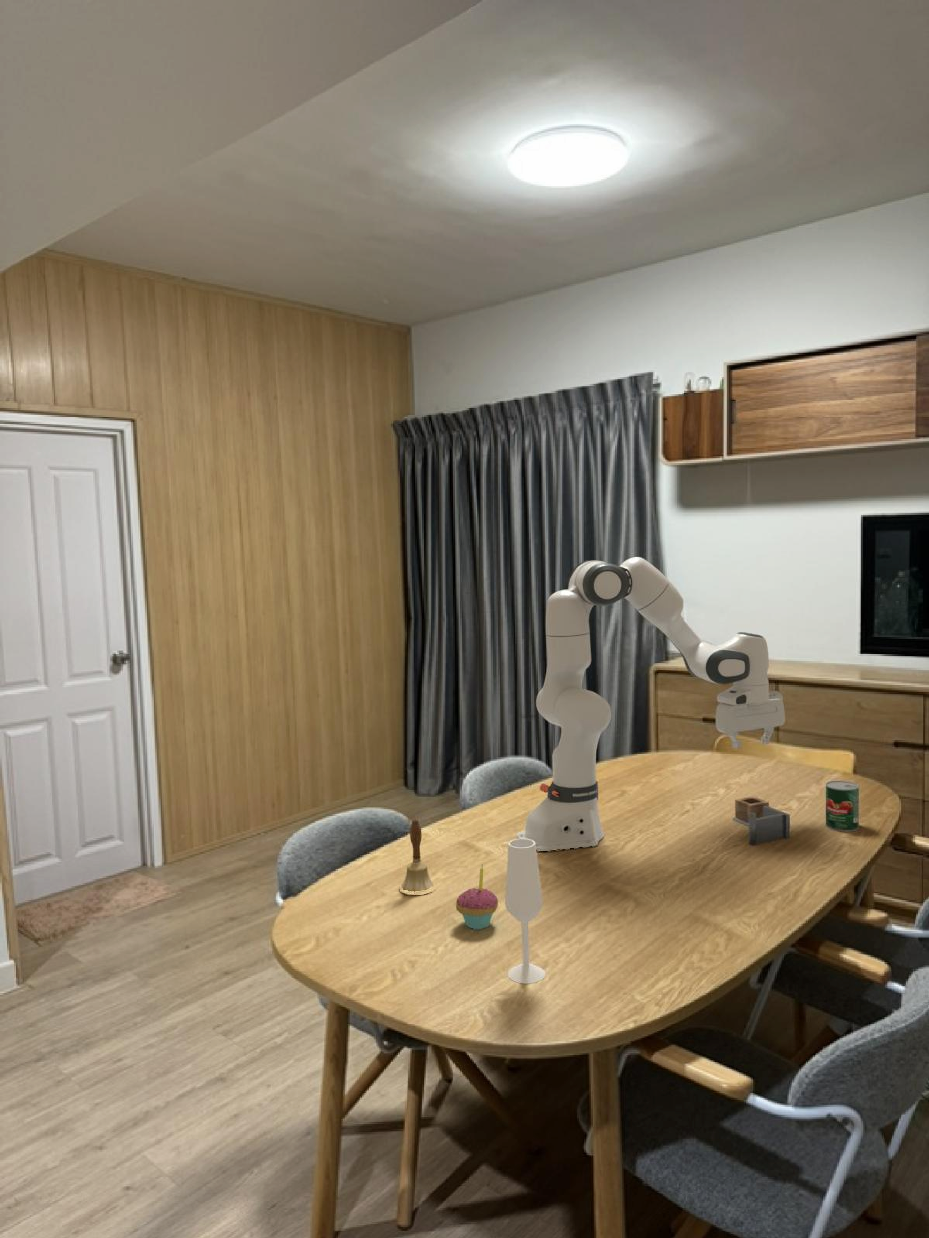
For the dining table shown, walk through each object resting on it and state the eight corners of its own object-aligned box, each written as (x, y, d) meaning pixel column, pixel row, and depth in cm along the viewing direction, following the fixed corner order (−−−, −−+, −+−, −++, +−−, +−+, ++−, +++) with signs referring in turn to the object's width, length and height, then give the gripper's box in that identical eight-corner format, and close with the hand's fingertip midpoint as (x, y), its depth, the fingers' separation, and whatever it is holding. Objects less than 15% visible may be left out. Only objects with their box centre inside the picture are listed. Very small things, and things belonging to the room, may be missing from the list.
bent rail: (753, 845, 209) (752, 815, 209) (730, 835, 217) (730, 806, 216) (789, 837, 214) (789, 808, 213) (766, 828, 221) (766, 799, 220)
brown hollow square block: (750, 824, 223) (750, 805, 222) (735, 817, 228) (735, 799, 228) (768, 820, 225) (768, 802, 225) (753, 814, 231) (753, 796, 230)
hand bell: (443, 884, 193) (440, 816, 192) (423, 898, 186) (419, 827, 185) (412, 878, 198) (409, 811, 196) (392, 892, 190) (388, 822, 189)
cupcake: (475, 911, 179) (472, 856, 177) (507, 922, 173) (505, 864, 172) (448, 927, 172) (445, 869, 171) (481, 938, 167) (479, 878, 165)
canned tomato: (827, 830, 218) (827, 788, 217) (824, 820, 225) (823, 779, 224) (861, 832, 215) (861, 790, 214) (856, 822, 223) (856, 781, 222)
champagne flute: (524, 987, 148) (519, 853, 145) (500, 972, 153) (495, 842, 151) (553, 974, 151) (548, 843, 149) (528, 960, 157) (524, 833, 155)
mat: (750, 827, 222) (750, 825, 222) (732, 819, 229) (732, 817, 229) (771, 823, 225) (771, 820, 225) (753, 815, 231) (753, 813, 231)
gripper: (773, 688, 231) (773, 738, 232) (711, 695, 223) (712, 747, 224) (790, 691, 225) (790, 743, 226) (727, 699, 217) (728, 752, 218)
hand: (751, 745), depth 225 cm, fingers open, 8 cm apart
